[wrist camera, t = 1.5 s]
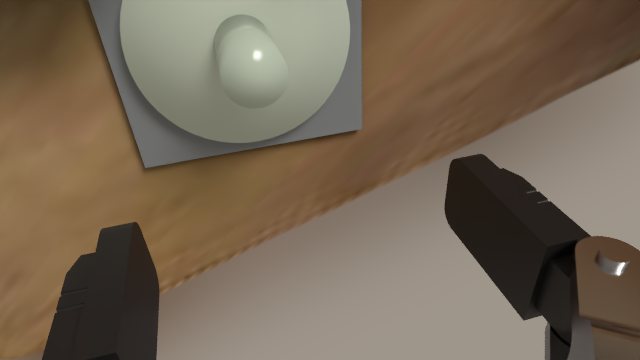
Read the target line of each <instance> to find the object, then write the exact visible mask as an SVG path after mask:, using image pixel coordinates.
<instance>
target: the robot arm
mask: <svg viewBox="0 0 640 360" xmlns="http://www.w3.org/2000/svg"><path fill="white" fill-rule="evenodd" d="M445 215H446V219H447V221H448V224H449V225H450V227H451V229H452V230H453V231H454V232H455V234H456V235H457V236H458V237H459V239H460V240H461V241H462V243H463V244H464V245H465V246H466V248H467V249H468V250H469V251H470V253H471V254H472V255H473V257H474V258H475V259H476V260H477V262H478V263H479V264H480V266H481V267H482V268H483V269H484V270H485V272H486V273H487V274H488V276H489V277H490V278H491V279H492V281H493V282H494V283H495V285H496V286H497V287H498V288H499V290H500V291H501V292H502V293H503V295H504V296H505V297H506V299H507V300H508V301H509V302H510V304H511V305H512V306H513V308H514V309H515V310H516V311H517V313H518V314H519V315H520V316H521V318H522V319H523V320H527V319H531V318H534V317H538V316H541V315H542V316H543V317H544V318H545V319H546V320H547V322H548V323H547V326H546V328H545V360H640V251H639V250H638V249H636V248H634V247H633V246H631V245H629V244H627V243H625V242H623V241H620V240H617V239H614V238H609V237H603V236H593V237H591V236H590V235H589V234H588V233H587V232H585V231H584V230H583V229H582V228H581V227H580V226H578V225H577V224H576V223H575V222H574V221H573V220H571V219H570V218H569V217H568V216H567V215H566V214H564V213H563V212H562V211H561V210H560V209H559V208H557V207H556V206H555V205H554V204H553V203H552V202H551V201H550V202H548V200H547V198H546V197H545V196H543V195H542V194H541V193H540V192H537V191H536V189H535V188H534V187H533V186H532V185H531V184H530V183H529V182H527V181H526V180H525V179H524V178H523V177H521V176H519V175H517V174H514V173H512V172H510V171H508V170H506V169H504V168H503V169H499V168H498V167H497V166H496V165H495V164H494V163H493V162H491V161H490V160H489V159H488V158H487V157H486V156H485V155H483V154H477V155H473V156H467V157H462V158H458V159H454V160H452V162H451V164H450V168H449V175H448V183H447V191H446V198H445ZM56 310H57V313H55V315H54V319H53V322H52V326H51V329H50V333H49V336H48V340H47V343H46V347H45V350H44V354H43V357H42V360H156V353H157V331H158V310H159V283H158V277H157V272H156V269H155V266H154V263H153V261H152V258H151V255H150V253H149V250H148V248H147V245H146V242H145V240H144V237H143V234H142V232H141V229H140V227H139V225H138V224H137V223H136V222H133V223H128V224H123V225H118V226H113V227H108V228H103V229H101V231H100V234H99V239H98V243H97V248H96V252H95V253H90V254H85V255H81V256H80V257H79V258H78V260H77V261H76V262H75V264H74V265H73V266H72V267H71V269H70V270H69V271H68V272H67V274H66V277H65V280H64V284H63V287H62V291H61V297H60V298H59V301H58V305H57V308H56Z"/></svg>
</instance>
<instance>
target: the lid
mask: <svg viewBox="0 0 640 360" xmlns="http://www.w3.org/2000/svg"><path fill="white" fill-rule="evenodd" d="M120 35H121V45H122V49H123V53H124V57H125V61H126V63H127V66H128V68H129V71H130V73H131V75H132V77H133V79H134V81H135V83H136V84H137V86H138V88H139V89H140V91H141V92H142V94H143V95H144V96H145V98H146V99H147V100H148V101H149V102H150V103H151V105H152V106H153V107H154V108H155V109H156V110H157V111H158V112H159V113H161V114H162V115H163V116H164V117H165V118H167V119H168V120H169V121H171V122H172V123H174V124H175V125H177V126H178V127H180V128H182V129H184V130H186V131H188V132H190V133H192V134H195V135H197V136H200V137H203V138H206V139H210V140H215V141H219V142H228V143H249V142H257V141H262V140H266V139H270V138H273V137H276V136H279V135H281V134H284V133H286V132H288V131H290V130H292V129H294V128H296V127H297V126H299V125H300V124H302V123H303V122H305V121H306V120H307V119H308V118H310V117H311V116H312V115H313V114H314V113H315V112H316V111H317V110H318V109H319V108H320V107H321V106H322V105H323V104H324V103H325V101H326V100H327V99H328V97H329V96H330V95H331V93H332V92H333V90H334V88H335V87H336V85H337V83H338V81H339V79H340V77H341V74H342V72H343V70H344V66H345V63H346V59H347V56H348V50H349V43H350V20H349V12H348V7H347V2H346V0H122V6H121V11H120Z"/></svg>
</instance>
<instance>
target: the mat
mask: <svg viewBox="0 0 640 360" xmlns="http://www.w3.org/2000/svg"><path fill="white" fill-rule="evenodd" d="M88 1H89V4H90V7H91V10H92V13H93V16H94V19H95V22H96V25H97V28H98V31H99V34H100V37H101V40H102V43H103V45H104V48H105V51H106V54H107V57H108V60H109V63H110V66H111V69H112V72H113V75H114V78H115V81H116V84H117V87H118V90H119V92H120V95H121V98H122V101H123V104H124V107H125V110H126V113H127V116H128V119H129V122H130V125H131V128H132V131H133V134H134V137H135V140H136V142H137V145H138V148H139V151H140V154H141V157H142V160H143V163H144V166H145V168H148V167H154V166H159V165H165V164H171V163H176V162H182V161H187V160H193V159H198V158H204V157H209V156H215V155H221V154H226V153H232V152H237V151H243V150H248V149H254V148H260V147H265V146H271V145H276V144H282V143H287V142H293V141H298V140H304V139H310V138H315V137H321V136H326V135H332V134H337V133H343V132H348V131H354V130H360V129H362V24H361V0H346V2H347V7H348V12H349V20H350V43H349V50H348V56H347V59H346V63H345V66H344V70H343V72H342V74H341V77H340V79H339V81H338V83H337V85H336V87H335V88H334V90H333V92H332V93H331V95H330V96H329V97H328V99H327V100H326V101H325V103H324V104H323V105H322V106H321V107H320V108H319V109H318V110H317V111H316V112H315V113H314V114H313V115H312V116H311V117H310V118H308V119H307V120H306V121H305V122H303V123H302V124H300V125H299V126H297V127H296V128H294V129H292V130H290V131H288V132H286V133H284V134H281V135H279V136H276V137H273V138H270V139H266V140H262V141H257V142H249V143H228V142H219V141H215V140H210V139H206V138H203V137H200V136H197V135H195V134H192V133H190V132H188V131H186V130H184V129H182V128H180V127H178V126H177V125H175V124H174V123H172V122H171V121H169V120H168V119H167V118H165V117H164V116H163V115H162V114H161V113H159V112H158V111H157V110H156V109H155V108H154V107H153V106H152V105H151V103H150V102H149V101H148V100H147V99H146V98H145V96H144V95H143V94H142V92H141V91H140V89H139V88H138V86H137V84H136V83H135V81H134V79H133V77H132V75H131V73H130V71H129V68H128V66H127V63H126V61H125V57H124V53H123V49H122V45H121V35H120V11H121V6H122V0H88Z"/></svg>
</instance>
